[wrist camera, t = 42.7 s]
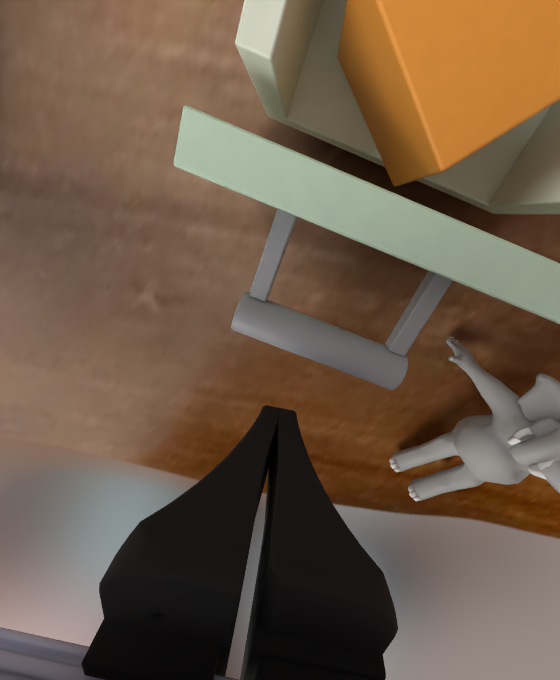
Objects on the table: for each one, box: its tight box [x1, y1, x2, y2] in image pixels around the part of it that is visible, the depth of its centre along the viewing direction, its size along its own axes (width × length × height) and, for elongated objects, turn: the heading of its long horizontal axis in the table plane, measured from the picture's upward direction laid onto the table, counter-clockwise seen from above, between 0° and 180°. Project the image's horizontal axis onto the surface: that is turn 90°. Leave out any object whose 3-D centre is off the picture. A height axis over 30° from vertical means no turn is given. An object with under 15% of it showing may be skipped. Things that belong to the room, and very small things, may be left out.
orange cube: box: [338, 0, 560, 187], centre depth 7 cm, size 4×4×4 cm
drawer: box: [174, 0, 560, 390], centre depth 8 cm, size 17×10×5 cm, turn 160°
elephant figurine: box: [389, 337, 560, 501], centre depth 13 cm, size 10×6×9 cm
